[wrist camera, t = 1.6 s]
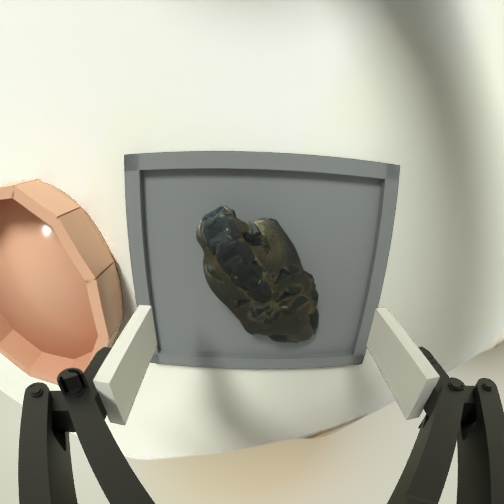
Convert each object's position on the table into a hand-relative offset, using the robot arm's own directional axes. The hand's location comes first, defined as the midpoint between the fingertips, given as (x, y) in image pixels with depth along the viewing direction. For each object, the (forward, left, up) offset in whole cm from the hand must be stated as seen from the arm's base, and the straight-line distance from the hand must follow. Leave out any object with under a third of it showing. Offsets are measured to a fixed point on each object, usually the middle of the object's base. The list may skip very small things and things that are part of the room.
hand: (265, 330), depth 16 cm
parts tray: (0, 0, -8) cm, 8 cm away
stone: (0, 0, -7) cm, 7 cm away
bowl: (+2, -22, -8) cm, 23 cm away
